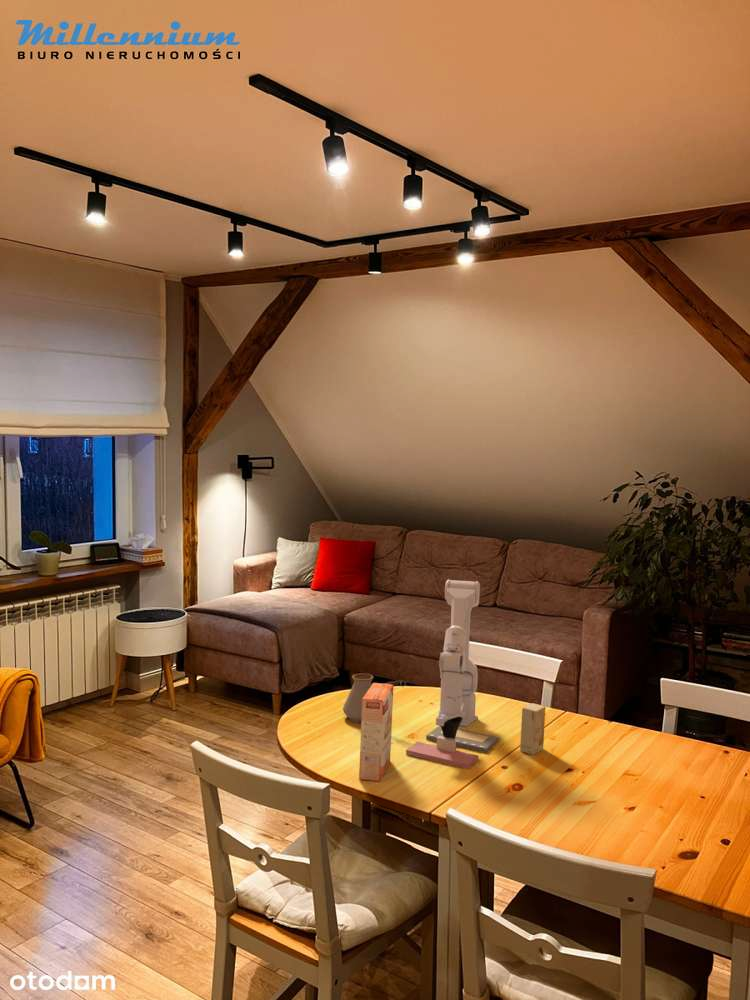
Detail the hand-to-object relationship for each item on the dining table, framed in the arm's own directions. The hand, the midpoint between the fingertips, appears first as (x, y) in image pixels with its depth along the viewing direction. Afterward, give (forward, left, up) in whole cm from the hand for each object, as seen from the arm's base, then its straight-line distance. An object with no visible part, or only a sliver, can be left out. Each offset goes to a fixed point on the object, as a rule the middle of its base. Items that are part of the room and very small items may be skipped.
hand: (449, 743), depth 223 cm
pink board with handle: (+5, 0, -2) cm, 5 cm away
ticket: (-10, 0, -2) cm, 10 cm away
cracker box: (+21, -11, -2) cm, 24 cm away
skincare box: (-14, +19, -2) cm, 23 cm away
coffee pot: (-9, -28, -2) cm, 29 cm away
